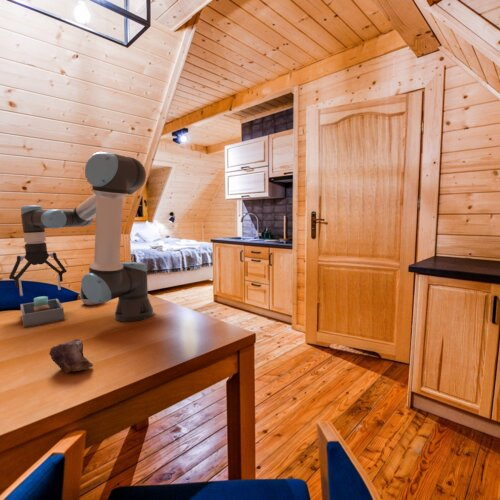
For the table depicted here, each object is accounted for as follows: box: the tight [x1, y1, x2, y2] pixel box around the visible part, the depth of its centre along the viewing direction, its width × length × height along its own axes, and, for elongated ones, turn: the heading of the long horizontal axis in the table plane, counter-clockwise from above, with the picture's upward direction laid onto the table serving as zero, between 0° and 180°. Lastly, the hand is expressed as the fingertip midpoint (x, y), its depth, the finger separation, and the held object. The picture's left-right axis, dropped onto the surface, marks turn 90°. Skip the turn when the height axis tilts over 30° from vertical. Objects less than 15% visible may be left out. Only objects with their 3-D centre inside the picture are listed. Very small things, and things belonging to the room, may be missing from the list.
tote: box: [19, 298, 65, 328], centre depth 131 cm, size 18×14×5 cm
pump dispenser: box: [79, 286, 99, 306], centre depth 150 cm, size 10×10×15 cm
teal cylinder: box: [33, 295, 49, 307], centre depth 134 cm, size 5×5×7 cm
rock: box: [49, 338, 94, 374], centre depth 88 cm, size 12×9×10 cm
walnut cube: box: [33, 305, 50, 312], centre depth 128 cm, size 5×5×5 cm
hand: (41, 292), depth 134 cm, fingers open, 13 cm apart
